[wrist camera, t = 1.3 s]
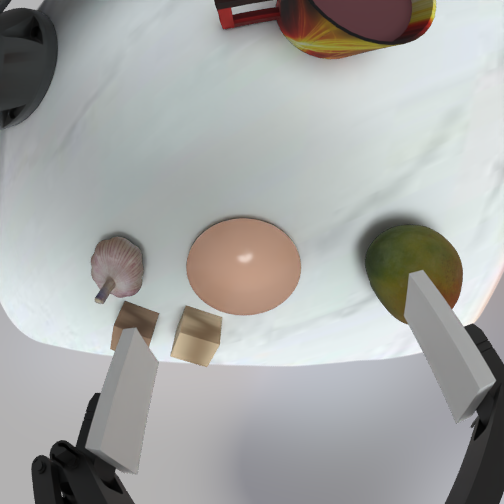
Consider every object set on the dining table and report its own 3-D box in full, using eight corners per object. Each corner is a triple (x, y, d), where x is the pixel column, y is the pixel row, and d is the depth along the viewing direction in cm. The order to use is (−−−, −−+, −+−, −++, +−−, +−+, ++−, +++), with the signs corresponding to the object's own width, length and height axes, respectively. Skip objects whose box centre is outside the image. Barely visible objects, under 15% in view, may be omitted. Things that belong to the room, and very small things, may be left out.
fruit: (411, 297, 39) (441, 346, 30) (337, 283, 37) (359, 341, 28) (449, 226, 33) (493, 268, 25) (374, 199, 31) (416, 242, 23)
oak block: (176, 329, 41) (170, 356, 36) (186, 305, 38) (179, 332, 34) (209, 340, 42) (207, 367, 38) (221, 316, 40) (219, 344, 35)
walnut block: (120, 324, 40) (110, 348, 36) (125, 300, 38) (113, 325, 34) (152, 335, 41) (144, 361, 37) (159, 312, 39) (151, 339, 35)
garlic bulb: (122, 291, 37) (101, 334, 30) (85, 251, 34) (56, 288, 27) (162, 267, 35) (146, 311, 29) (124, 220, 32) (96, 257, 25)
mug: (218, 26, 22) (201, -13, 12) (331, -37, 18) (374, -87, 8) (281, 99, 26) (305, 105, 16) (388, 34, 22) (458, 19, 12)
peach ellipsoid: (175, 289, 37) (173, 295, 36) (210, 197, 31) (209, 201, 30) (269, 320, 40) (270, 326, 39) (319, 241, 34) (321, 246, 33)
